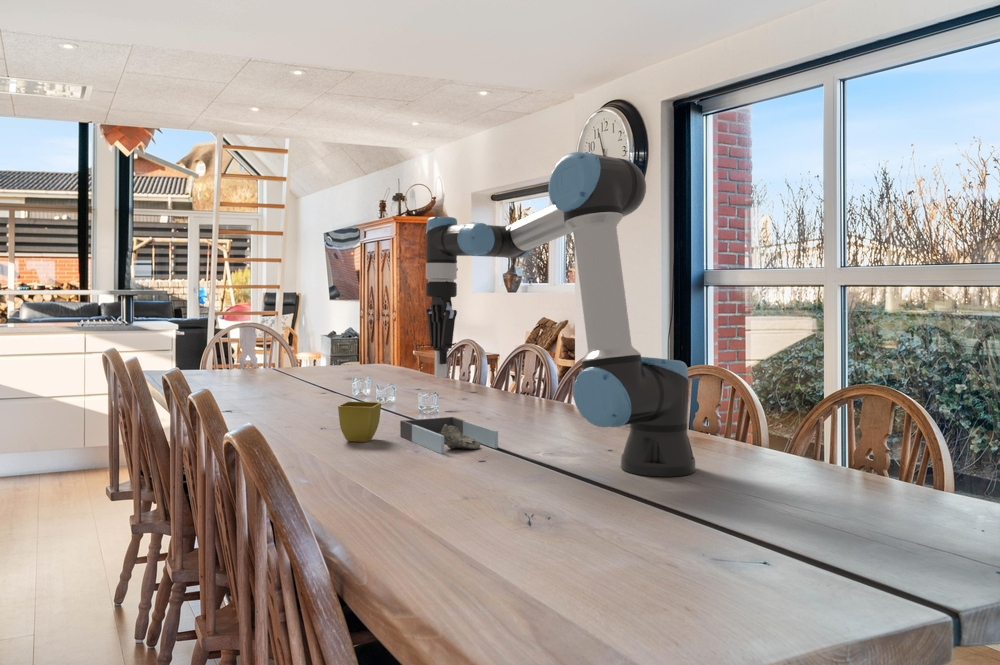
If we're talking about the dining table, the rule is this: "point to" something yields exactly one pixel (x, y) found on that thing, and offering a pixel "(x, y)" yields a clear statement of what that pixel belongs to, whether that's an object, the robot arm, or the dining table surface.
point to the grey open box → (429, 425)
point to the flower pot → (359, 420)
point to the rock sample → (457, 438)
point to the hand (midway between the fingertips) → (440, 377)
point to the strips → (469, 429)
